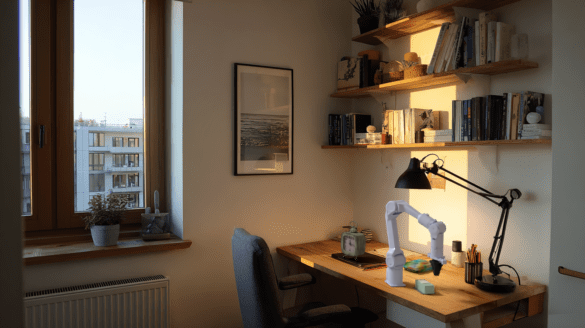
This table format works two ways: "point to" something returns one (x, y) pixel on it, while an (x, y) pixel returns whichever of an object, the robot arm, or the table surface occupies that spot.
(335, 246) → the table surface
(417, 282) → the sage block
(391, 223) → the robot arm
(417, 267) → the puzzle game
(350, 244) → the tabletop clock
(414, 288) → the mat
